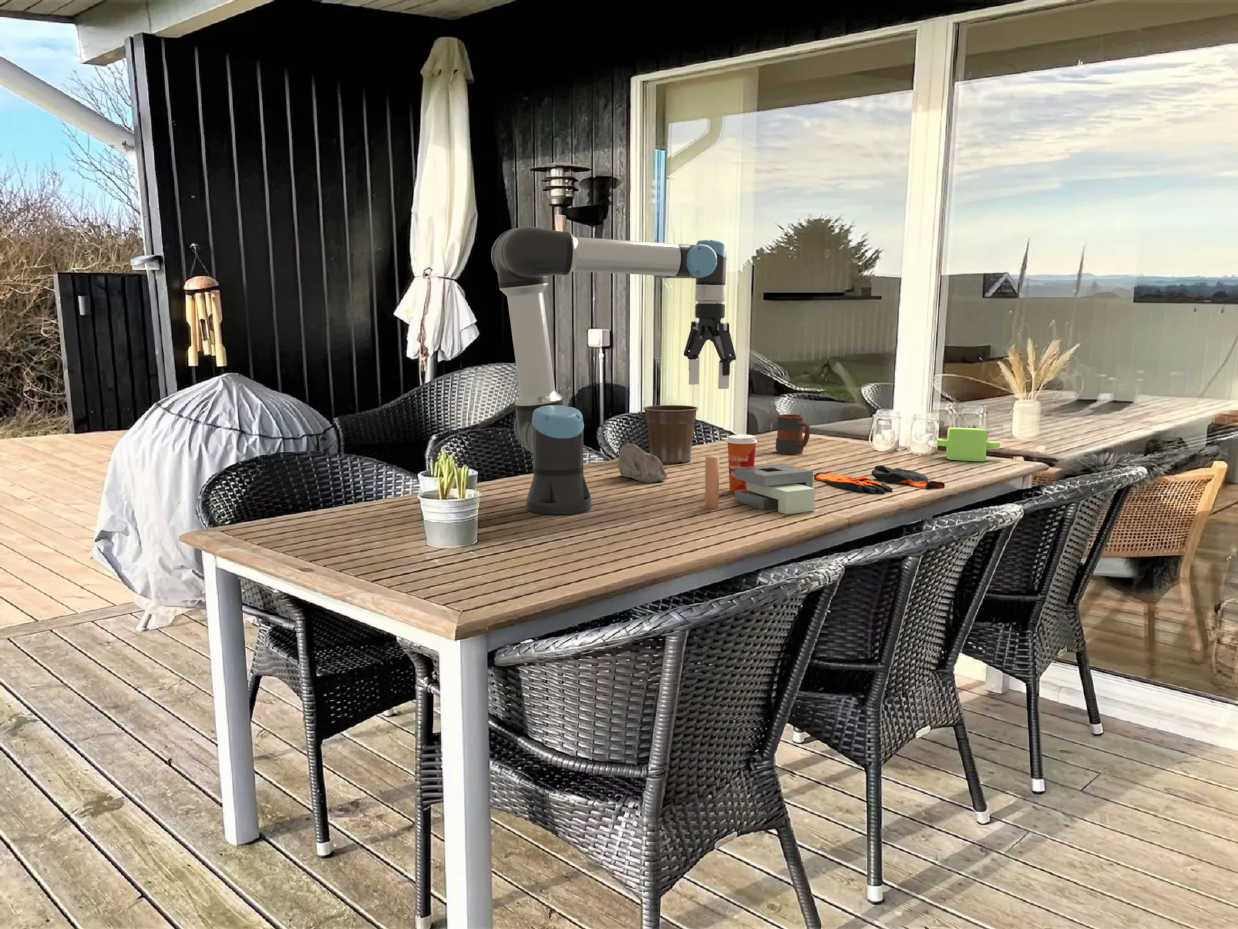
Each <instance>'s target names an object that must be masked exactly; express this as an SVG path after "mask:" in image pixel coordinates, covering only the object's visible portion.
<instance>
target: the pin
mask: <svg viewBox="0 0 1238 929" xmlns="http://www.w3.org/2000/svg"><path fill="white" fill-rule="evenodd" d="M704 469H705V470H704V472H705V473H704V474H705V476H704V478H705V479H704V483H705V484H704V487H705V488H704V495H705V496H704V508H705V509H710V510H717V509H719V508H720V507H719V506H720V505H719V503H720V502H719V501H720V498H719V497H720V456H717V455H707V456H705V468H704Z"/></svg>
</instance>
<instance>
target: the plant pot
mask: <svg viewBox="0 0 1238 929" xmlns="http://www.w3.org/2000/svg"><path fill="white" fill-rule="evenodd" d="M698 409H699V408H698V406H693V405H684V404H683V405H681V404H673V405H672V404H659V405H658V404H657V405H648V406H644V407H643V411H644V414H645V421H646V423H647V424H646V427H647V436H648V445H649V447H648V448H649V454H650V455H654V456H656V457H657V458H658V459H659V460H660V461H661V463H662V464H669V465H670V464H679V463H682V464H683V463H688V462H690V461H691V459H692V449H693V440H694V439H693V438H694V437H693V436H694V429H695V422H696V418H697V411H698Z"/></svg>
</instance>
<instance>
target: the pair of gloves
mask: <svg viewBox="0 0 1238 929" xmlns="http://www.w3.org/2000/svg"><path fill="white" fill-rule="evenodd" d="M871 475H873V477H874V478H875V479H876V480H878V481H876V480H873V479H871V478H869V477H867V476H859V477H856V478H853V477H851V476H848V475H847V474H846V475H842V474H841V475H840V474H836V473H835V472H833V471H826V472H823V471H822V472H821V471H819V472H816V473H815V474H813V480H814V481H815V480H817V481H821V482H826V483H827V485H830V486H832V487H837V488H841V489H846V490H850V491H853V492H855V493H858V494H859V493H862V494H863V493H864V492H865V491H867V492H869V493H871V494H878V495H885V494H886V493H892V492H893V488H892V486H889V485H887V484H885V482H886V483H887V482H888V483H892V484H907V485H910V486H911V487H914V488H918V489H925V490H931V489H932V488H935V489H943V488H945V483H944V482H943V481H936V480H929V478H928V476H926V475H925V474H923V473H920V472H917V471H914V470H911V469H903V468H901V467H897V468H891V467H888V466H885V465H881V464H877V465H875V466H874V468H873V470H871Z"/></svg>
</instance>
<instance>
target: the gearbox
mask: <svg viewBox="0 0 1238 929" xmlns="http://www.w3.org/2000/svg"><path fill="white" fill-rule="evenodd" d="M988 432H989V431H988V430H987V429H984V428H973V427H947V438H937V439H936V446H938V447H946V449H945V450H946V452H945V457H946V458H947V460H951V461H962V462H963V461H965V462H966V461H967V462H986V459H987V450H993V449H999V448H1000V447H1001V443H1000V441H995V440H994V441H993V440H990V441H989V440H988V434H989V433H988Z"/></svg>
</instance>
